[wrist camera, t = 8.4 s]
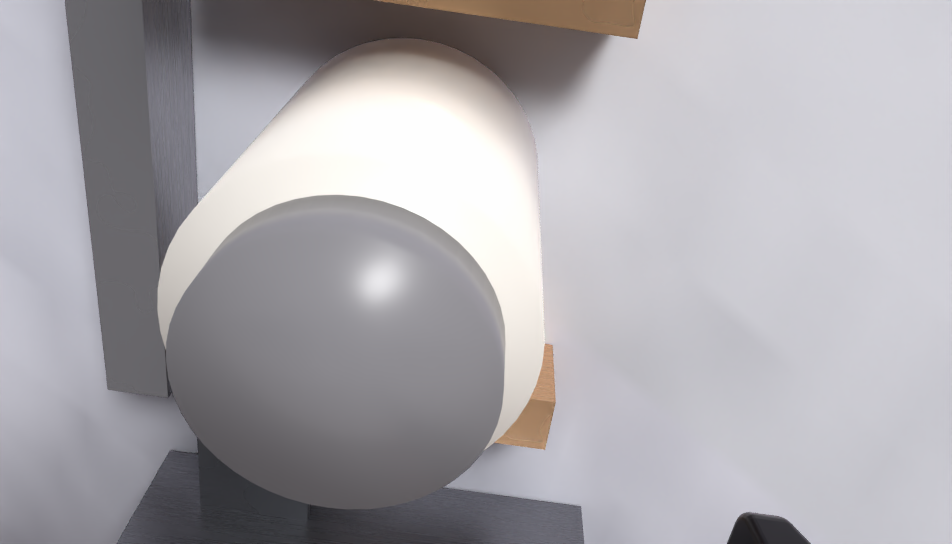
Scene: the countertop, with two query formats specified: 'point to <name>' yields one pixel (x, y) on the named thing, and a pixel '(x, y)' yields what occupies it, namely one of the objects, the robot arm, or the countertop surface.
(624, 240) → the countertop surface
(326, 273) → the white rounded cylinder
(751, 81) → the countertop surface
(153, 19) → the grey angular piece
